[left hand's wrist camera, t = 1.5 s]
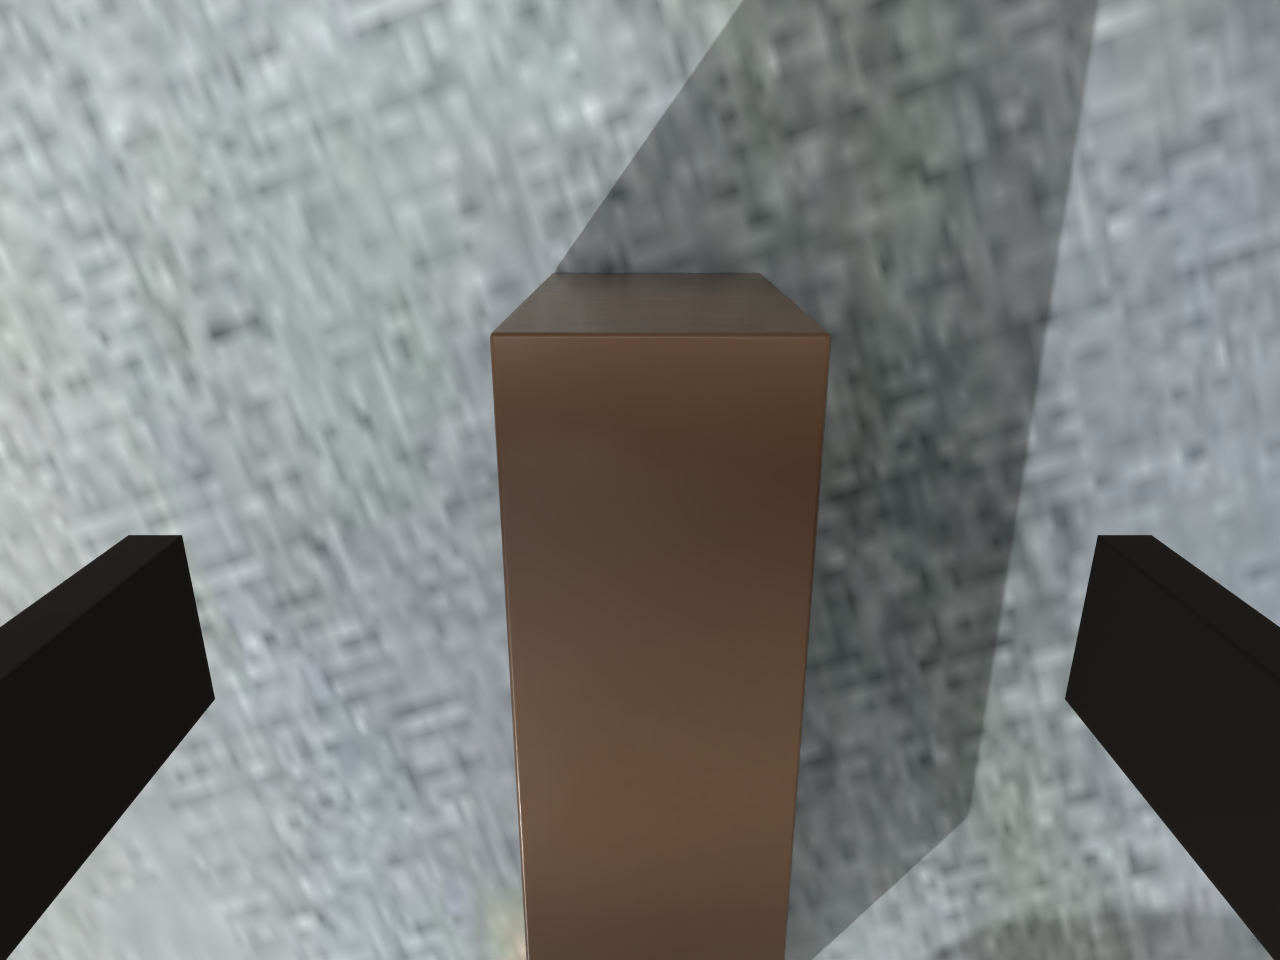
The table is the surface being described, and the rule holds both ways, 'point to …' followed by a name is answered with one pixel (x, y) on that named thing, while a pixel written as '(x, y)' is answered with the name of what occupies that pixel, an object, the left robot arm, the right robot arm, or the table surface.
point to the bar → (658, 605)
